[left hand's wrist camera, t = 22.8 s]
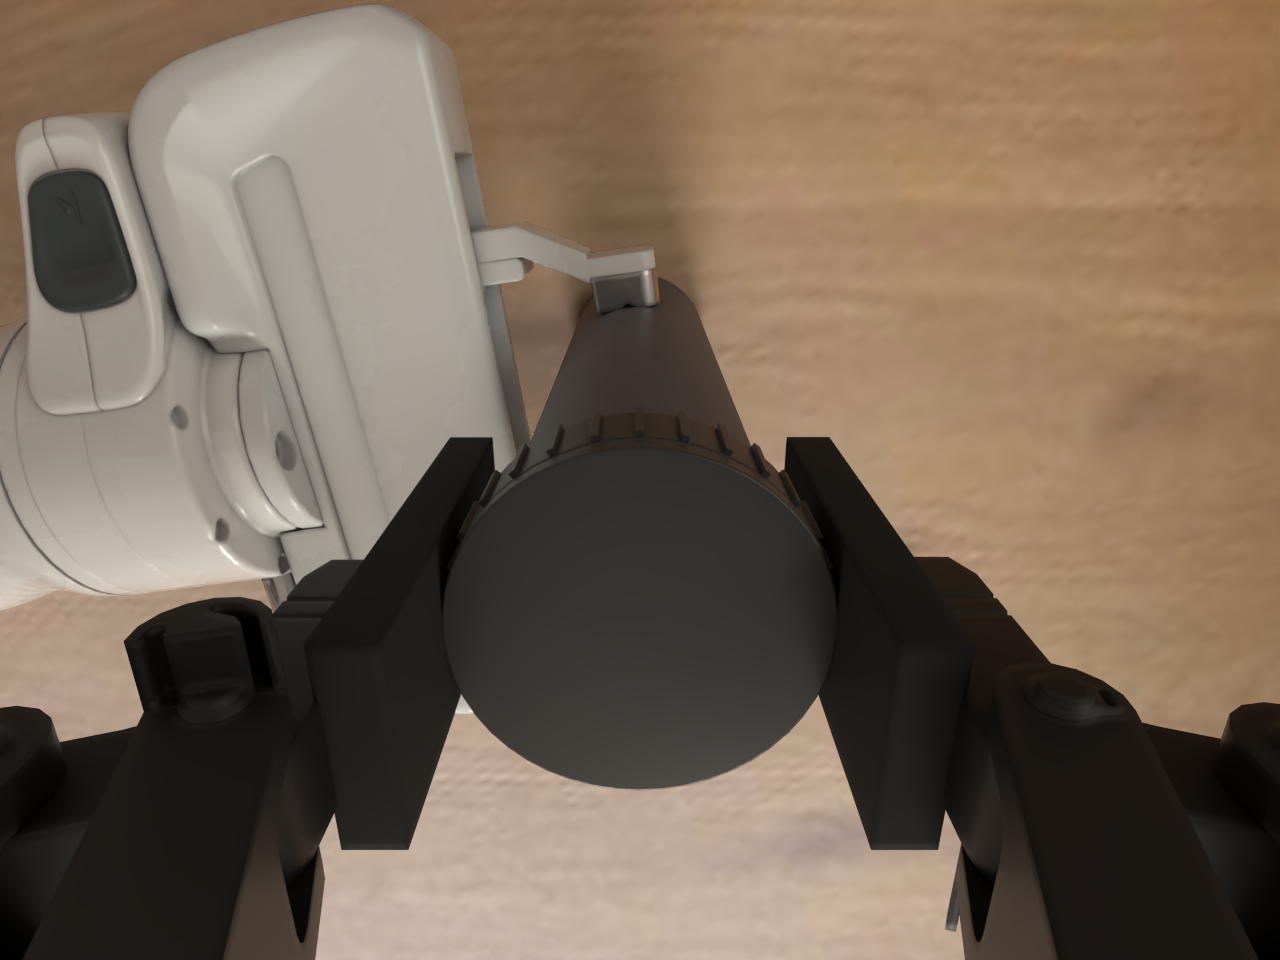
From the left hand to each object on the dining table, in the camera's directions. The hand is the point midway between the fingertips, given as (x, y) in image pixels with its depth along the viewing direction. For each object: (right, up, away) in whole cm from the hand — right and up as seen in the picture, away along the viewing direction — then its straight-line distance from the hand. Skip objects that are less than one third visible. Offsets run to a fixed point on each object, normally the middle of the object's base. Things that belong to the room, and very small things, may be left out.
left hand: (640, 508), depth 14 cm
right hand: (+1, +4, +9) cm, 9 cm away
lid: (0, -1, -4) cm, 4 cm away
